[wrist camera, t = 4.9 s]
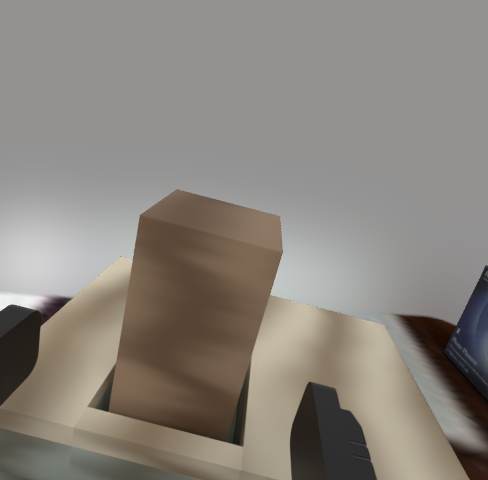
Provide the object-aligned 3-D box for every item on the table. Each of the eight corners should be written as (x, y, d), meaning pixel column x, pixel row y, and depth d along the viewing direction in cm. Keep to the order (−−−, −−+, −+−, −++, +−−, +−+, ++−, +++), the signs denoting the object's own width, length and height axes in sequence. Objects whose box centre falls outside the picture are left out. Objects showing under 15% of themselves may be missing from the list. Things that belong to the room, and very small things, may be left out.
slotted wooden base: (363, 374, 31) (384, 324, 30) (448, 612, 16) (500, 536, 15) (112, 309, 31) (120, 256, 30) (-40, 487, 16) (-40, 397, 14)
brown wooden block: (226, 401, 22) (279, 216, 19) (212, 484, 17) (282, 252, 14) (140, 379, 22) (176, 189, 19) (101, 455, 17) (139, 215, 13)
